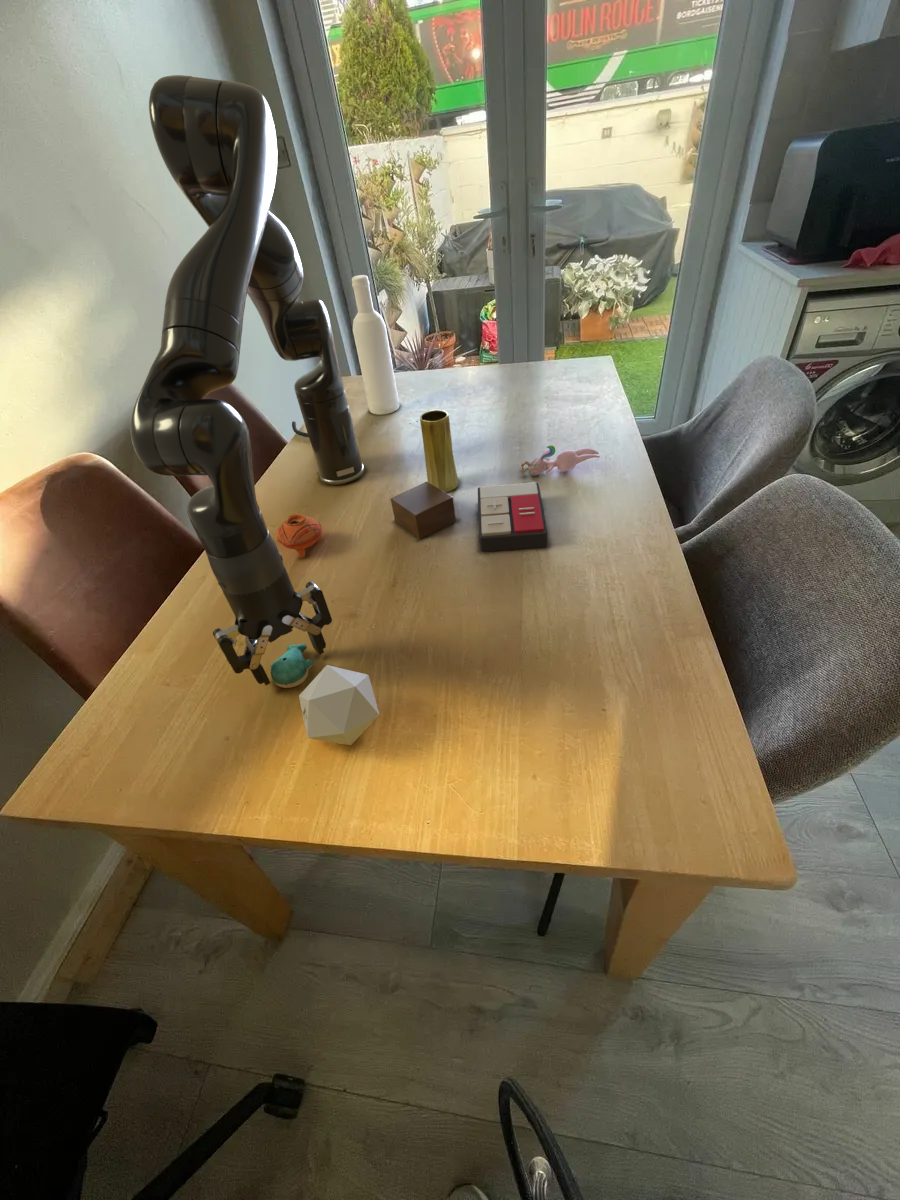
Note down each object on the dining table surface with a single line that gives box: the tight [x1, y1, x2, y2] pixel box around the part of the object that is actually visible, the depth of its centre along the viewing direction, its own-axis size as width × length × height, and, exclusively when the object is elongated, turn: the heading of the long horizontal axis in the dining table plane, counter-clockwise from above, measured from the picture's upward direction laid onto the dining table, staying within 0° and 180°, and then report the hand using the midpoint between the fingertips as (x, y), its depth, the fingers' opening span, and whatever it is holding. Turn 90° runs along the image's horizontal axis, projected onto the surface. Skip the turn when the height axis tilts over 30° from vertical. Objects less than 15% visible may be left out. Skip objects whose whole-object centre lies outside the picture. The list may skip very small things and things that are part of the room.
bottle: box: [351, 274, 400, 416], centre depth 132 cm, size 8×8×30 cm
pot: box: [275, 513, 323, 559], centre depth 96 cm, size 8×8×7 cm
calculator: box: [477, 481, 548, 553], centre depth 95 cm, size 11×4×15 cm
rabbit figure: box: [520, 445, 601, 478], centre depth 106 cm, size 6×6×15 cm
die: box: [298, 664, 380, 746], centre depth 65 cm, size 8×9×10 cm
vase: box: [419, 409, 459, 493], centre depth 104 cm, size 6×6×14 cm
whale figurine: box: [270, 643, 314, 689], centre depth 74 cm, size 6×7×4 cm
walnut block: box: [390, 481, 457, 540], centre depth 98 cm, size 8×8×5 cm
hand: (292, 665), depth 75 cm, fingers open, 7 cm apart
